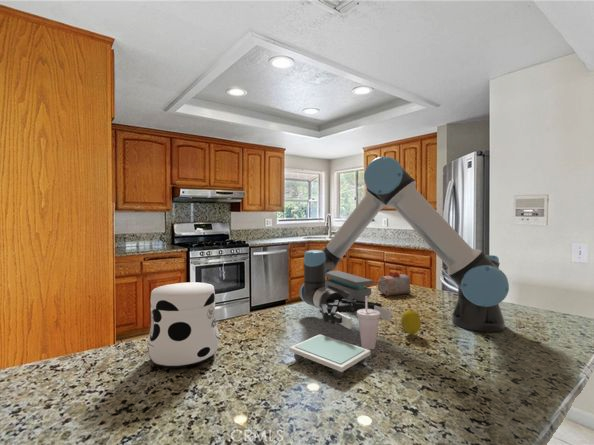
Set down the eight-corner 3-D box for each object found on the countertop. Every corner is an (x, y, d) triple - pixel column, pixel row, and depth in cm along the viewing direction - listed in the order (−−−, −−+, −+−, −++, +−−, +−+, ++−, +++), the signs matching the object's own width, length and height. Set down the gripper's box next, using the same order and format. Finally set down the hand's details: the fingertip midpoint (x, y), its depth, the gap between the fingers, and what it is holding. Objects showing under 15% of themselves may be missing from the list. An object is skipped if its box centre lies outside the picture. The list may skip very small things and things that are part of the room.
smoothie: (354, 342, 94) (353, 293, 94) (375, 341, 95) (376, 293, 94) (360, 351, 88) (360, 299, 87) (383, 350, 88) (383, 299, 88)
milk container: (232, 350, 89) (231, 284, 88) (186, 380, 73) (184, 300, 73) (183, 340, 96) (182, 279, 96) (131, 365, 81) (130, 292, 80)
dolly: (370, 364, 81) (370, 349, 81) (341, 382, 72) (341, 366, 72) (319, 346, 92) (319, 333, 91) (289, 360, 83) (289, 346, 83)
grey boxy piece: (386, 297, 144) (386, 274, 144) (376, 293, 152) (376, 271, 152) (412, 294, 149) (412, 272, 149) (400, 290, 157) (400, 269, 156)
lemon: (422, 339, 96) (422, 312, 96) (402, 338, 97) (402, 311, 97) (419, 332, 102) (419, 306, 101) (400, 331, 103) (400, 305, 103)
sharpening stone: (373, 308, 128) (373, 280, 127) (356, 311, 124) (356, 282, 124) (337, 294, 150) (337, 270, 150) (322, 296, 147) (322, 271, 146)
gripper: (359, 307, 114) (405, 326, 95) (295, 318, 103) (332, 341, 84) (359, 286, 114) (405, 300, 95) (295, 294, 103) (332, 312, 84)
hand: (371, 319), depth 90 cm, fingers open, 13 cm apart
